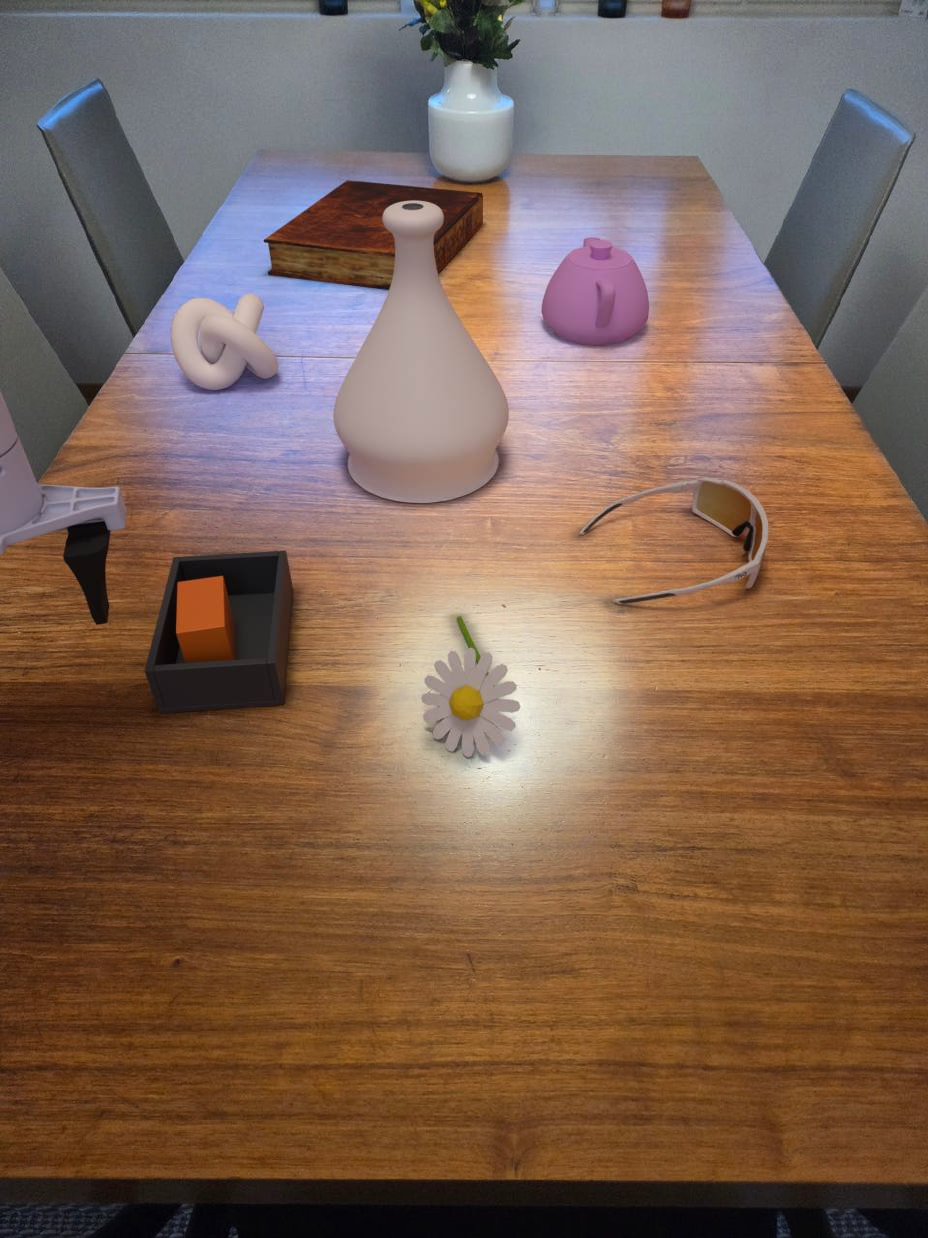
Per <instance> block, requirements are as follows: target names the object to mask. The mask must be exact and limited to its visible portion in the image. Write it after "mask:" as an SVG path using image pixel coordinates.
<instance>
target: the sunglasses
mask: <svg viewBox="0 0 928 1238" xmlns="http://www.w3.org/2000/svg"><path fill="white" fill-rule="evenodd" d="M686 491H687V492H688V491H693V494H692V501H691V502H692V503H691V511H692V512H693V513H694V514H696V515H697V516H699V517H701V518H702V519H704V520H706V521H707V522H708V523H711V524H713V525H714V526H716V527H718V528H719V529H720V530H722V531H724V532H725V533H727V534H728V535H730V536H731V537H732V538H737V537H740V536H742V535H743V534H745V533H746V532H747V534H746V536H745V540H744V544H743V548H742V549H743V550H744V551H745V552H747V553H748V556H747V559H748V562H747V563H746V564H743V565H742V566H740V567H738V568H737V569H736V568H735V570H732V571H730V572H729V573H728V572H727V573H726V574H725V575H722V576H720V577H717V578H714V579H712V580H709V581H706V582H703V583H700V584H696V585H692V586H688V587H680V588H673V589H667V590H662V591H657V592H650V593H645V594H639V595H633V596H625V597H619V598H615V599H613V600H612V601H613V602H614V603H615V604H618V605H627V604H634V603H641V602H642V603H643V602H647V601H648V602H649V601H654V600H661V599H666V598H673V597H681V596H689V595H693V594H696V593H697V592H701V591H704V590H706V589H710V588H713V587H715V586H719V585H723V584H728V583H733V582H738V581H740V580H741V579H743V578H745V577H746V576H748V575H749V577H748V580H747V583H746V585H745V586H744V588H745V589H751V588H752V587H753V585H754V584H755V582H756V580H757V577H758V575H759V572H760V570H761V568H762V565H763V563H764V559H765V553H766V548H767V546H768V541H769V535H770V534H769V533H770V531H769V530H770V525H769V524H770V523H769V519H768V515H767V513H766V510H765V508H764V507H763V505H762V503H761V502H760V500H759V499H758V498H757V497H756V495H754V494H753V493H752V492H750V491H749V490H748V489H746V488H744V487H743V486H742V485H740V484H737V483H735V482H734V481H731V480H728V479H718V478H714V477H708V476H703V477H700V478H697V479H691V480H683V481H678V482H672V483H668V484H665V485H661V486H658V487H654V488H650V489H646V490H643V491H640V492H638V493H635V494H632V495H629V496H625V497H623V498H620V499H618V500H616V501H614V502H611V504H609V505H607V506H606V507H605V508H604V509H602V510H601V511H600V512H599V513H597V514H596V515H594V517H593V518H591V520H589V522H588V523H586V525H584V526H583V527H582V529H580V531H579V532H578V534H579V535H581V536H582V535H583V536H584V535H585V534H586V533H587V532H588V531H590V529H591V528H592V527H593V526H595V524H597V523H598V522H599V521H600V520H602V519H603V518H604V517H606V516H607V515H608V514H609V513H611V512H613V511H615V510H617V509H618V508H620V507H623V506H625V505H628V504H633V503H635V502H637V501H640V500H641V499H644V498H646V497H650V496H653V495H657V494H663V493H665V494H667V493H672V494H679V493H682V492H686Z"/></svg>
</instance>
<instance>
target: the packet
mask: <svg viewBox="0 0 928 1238" xmlns="http://www.w3.org/2000/svg"><path fill="white" fill-rule="evenodd" d="M176 635H177V638H178V641H179V644H180V648H181V651H182V654H183V657H184V660H185V663H196V662H211V661H226V660H236V640H235V621H234V617H233V613H232V609H231V605H230V601H229V597H228V593H227V589H226V585H225V581H224V577H223V576H218V577H211V578H203V579H196V580H189V581H182V582H178V584H177V617H176Z"/></svg>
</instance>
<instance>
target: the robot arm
mask: <svg viewBox="0 0 928 1238" xmlns="http://www.w3.org/2000/svg"><path fill="white" fill-rule="evenodd" d="M127 518H128V510H127V506H126V502H125V500H124V496H123V494H122V491H121V488H120V486H106V487H89V486H88V487H85V486H75V485H74V486H71V485H59V484H58V485H57V484H45V483H38V482H37V479H36V477H35V474H34V472H33V469H32V467H31V464H30V461H29V459H28V457H27V453H26V452H25V449H24V447H23V444H22V442H21V439H20V436H19V434H18V430H17V429H16V426H15V424H14V421H13V418H12V416H11V413H10V410H9V408H8V405H7V403H6V401H5V398H4V396H3V393H2V391H1V389H0V556H2V555H4V553H5V552H6V550H7V548H8V547H9V546H12V545H15V544H18V543H19V544H20V543H21V542H24V541H27V540H31V539H34V538H37V537H41V536H44V535H47V534H50V533H57V532H65V531H67V538H66V539H65V545H64V549H63V555H62V558H63V560H64V563H65V564H66V565H67V567H68V568H69V569H70V571H71V573H72V574H73V575H74V577H75V579H76V580H77V582H78V584H79V587H80V588H81V590H82V592H83V594H84V598H85V601H86V604H87V607H88V610H89V613H90V616H91V618H92V620H93V622H94V623H95V625H96V626H98V625H104V624H105V625H106V624H107V623H108V620H109V612H110V602H109V601H110V600H109V596H108V590H107V579H106V578H107V577H106V576H107V575H106V574H107V573H106V569H107V568H106V567H107V566H106V565H107V564H106V563H107V558H108V552H109V547H110V539H111V538H110V537H111V533H112V531H119V530H120V531H121V530H125V529H126V526H127Z"/></svg>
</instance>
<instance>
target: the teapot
mask: <svg viewBox="0 0 928 1238" xmlns="http://www.w3.org/2000/svg"><path fill="white" fill-rule="evenodd" d="M582 245H583V246H582V247H578V248H575V249H572V250H571V251H570V252H569V253H568V254H567V255H566V256H565V257H564V258H563V260H562V261H561V262H560V264H559V265H558V266H557V268H556V270H555V271H554V272H553V274H552V276H551V278H550V279H549V281H548V284H547V286H546V288H545V291H544V294H543V298H542V303H541V315H542V318H543V320H544V322H545V323H546V325H547V326H548V327H549V329H550V330H551V331H552V332H553V333H554V334H555V335H556V336H557V337H559V338H561V339H564V340H565V341H568V342H572V343H574V344H581V345H588V346H607V345H614V344H619V343H622V342H625V341H627V340H629V339H631V338H632V337H633V336H635V335H636V334H637V333H638V332H639V331H640V330H641V329H642V328H643V327H644V326H645V325H646V323H647V321H648V319H649V316H650V315H649V314H650V300H649V293H648V289H647V285H646V282H645V280H644V277H643V275H642V273H641V270H640V268H639V266H638V264H637V262H636V261H635V259H634V257H633V256H632V255H631V254H630V253H629V252H628V251H625V250H623V249H621V248H617V247H613V243H612V242H611V241H609V240H604V239H601V238H599V237H594V236H593V237H592V236H591V237H590V236H589V237H586V238H584V239H583V244H582Z"/></svg>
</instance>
